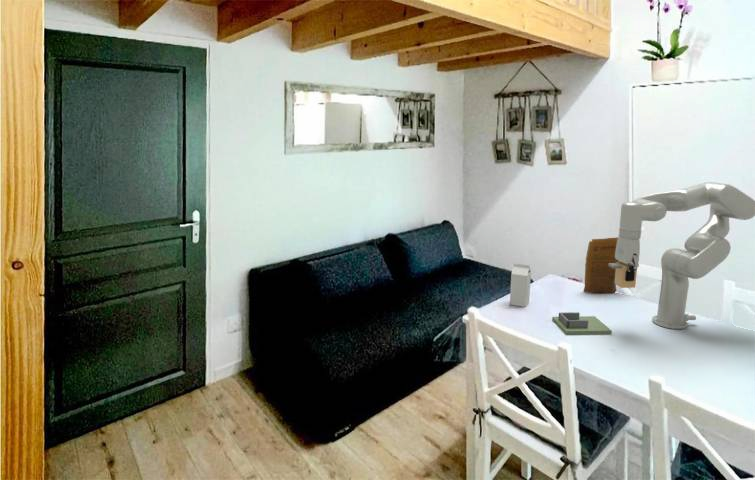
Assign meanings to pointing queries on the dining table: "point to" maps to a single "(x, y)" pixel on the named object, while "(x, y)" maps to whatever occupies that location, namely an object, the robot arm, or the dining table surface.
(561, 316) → the green base plate
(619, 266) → the tan wooden block
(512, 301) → the milk carton
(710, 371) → the dining table surface
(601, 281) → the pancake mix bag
